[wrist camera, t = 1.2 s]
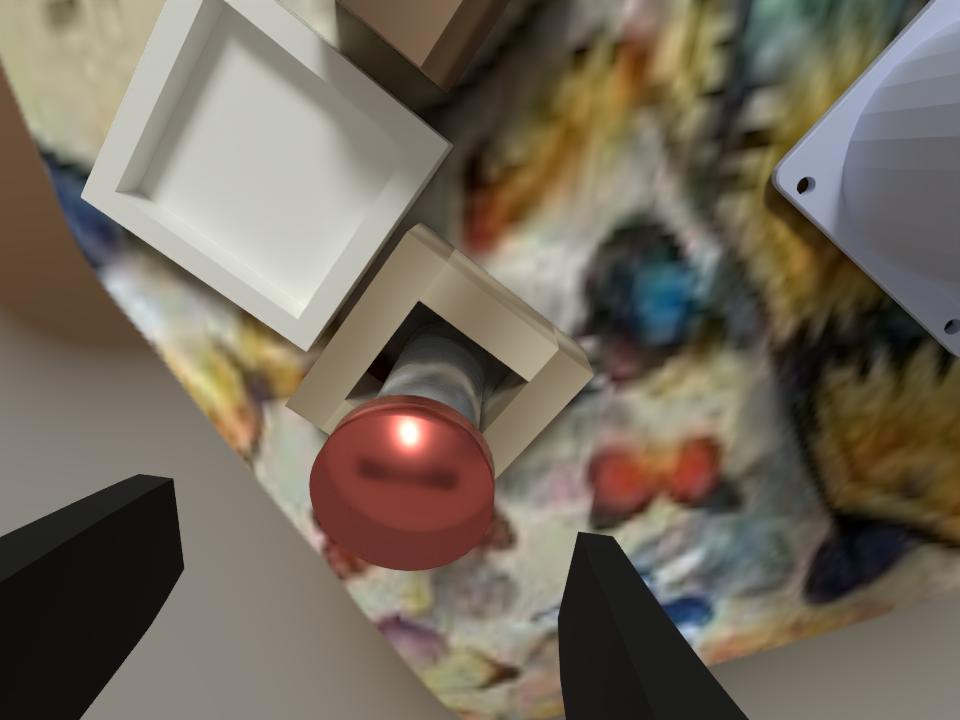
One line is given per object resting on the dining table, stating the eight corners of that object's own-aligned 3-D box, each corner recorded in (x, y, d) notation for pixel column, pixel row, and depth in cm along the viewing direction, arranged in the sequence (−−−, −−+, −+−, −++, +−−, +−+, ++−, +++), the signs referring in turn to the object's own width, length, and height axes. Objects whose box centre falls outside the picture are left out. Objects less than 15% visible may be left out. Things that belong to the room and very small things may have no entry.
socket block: (582, 347, 18) (594, 375, 16) (463, 477, 20) (457, 519, 18) (421, 221, 17) (406, 232, 14) (312, 375, 19) (285, 405, 17)
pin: (522, 353, 18) (532, 488, 11) (455, 430, 20) (423, 598, 12) (431, 285, 18) (374, 378, 10) (368, 369, 19) (276, 507, 11)
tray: (454, 145, 16) (448, 144, 14) (321, 337, 18) (306, 352, 17) (224, -44, 14) (194, -66, 13) (115, 194, 17) (80, 196, 16)
